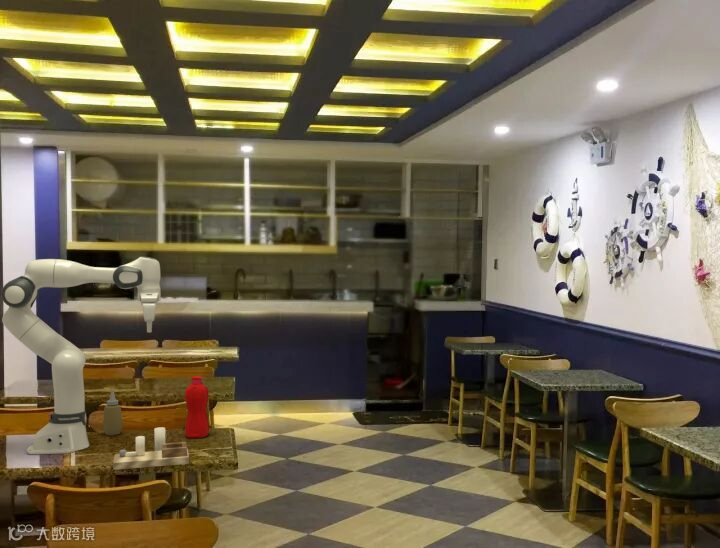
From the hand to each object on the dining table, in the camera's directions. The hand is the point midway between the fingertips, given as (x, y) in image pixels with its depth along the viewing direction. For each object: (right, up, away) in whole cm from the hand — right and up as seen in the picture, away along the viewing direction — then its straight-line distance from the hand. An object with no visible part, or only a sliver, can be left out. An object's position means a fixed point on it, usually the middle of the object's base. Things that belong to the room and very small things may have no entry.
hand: (149, 331), depth 286 cm
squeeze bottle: (-20, -45, +16) cm, 52 cm away
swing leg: (+2, -43, -27) cm, 51 cm away
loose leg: (+8, -45, -13) cm, 48 cm away
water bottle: (+17, -45, +12) cm, 50 cm away
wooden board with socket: (+9, -46, -27) cm, 54 cm away
